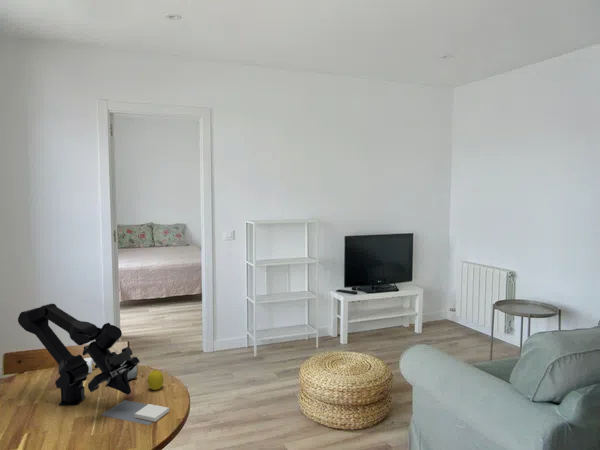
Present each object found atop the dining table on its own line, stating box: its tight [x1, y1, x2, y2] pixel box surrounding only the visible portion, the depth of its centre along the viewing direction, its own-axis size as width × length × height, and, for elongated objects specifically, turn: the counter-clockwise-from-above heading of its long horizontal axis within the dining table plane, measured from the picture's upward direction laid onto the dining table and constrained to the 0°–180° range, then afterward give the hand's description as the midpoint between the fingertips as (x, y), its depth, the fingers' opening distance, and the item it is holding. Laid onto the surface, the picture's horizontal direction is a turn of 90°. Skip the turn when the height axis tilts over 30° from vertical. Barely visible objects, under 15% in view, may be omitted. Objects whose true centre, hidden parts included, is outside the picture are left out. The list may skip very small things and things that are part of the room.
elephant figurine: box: [83, 357, 96, 374], centre depth 182 cm, size 7×8×6 cm
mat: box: [100, 399, 171, 426], centre depth 147 cm, size 19×11×1 cm, turn 70°
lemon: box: [147, 369, 164, 391], centre depth 164 cm, size 6×6×8 cm
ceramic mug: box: [117, 360, 139, 381], centre depth 175 cm, size 11×8×8 cm
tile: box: [134, 403, 170, 423], centre depth 145 cm, size 2×7×8 cm
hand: (129, 393), depth 147 cm, fingers closed
